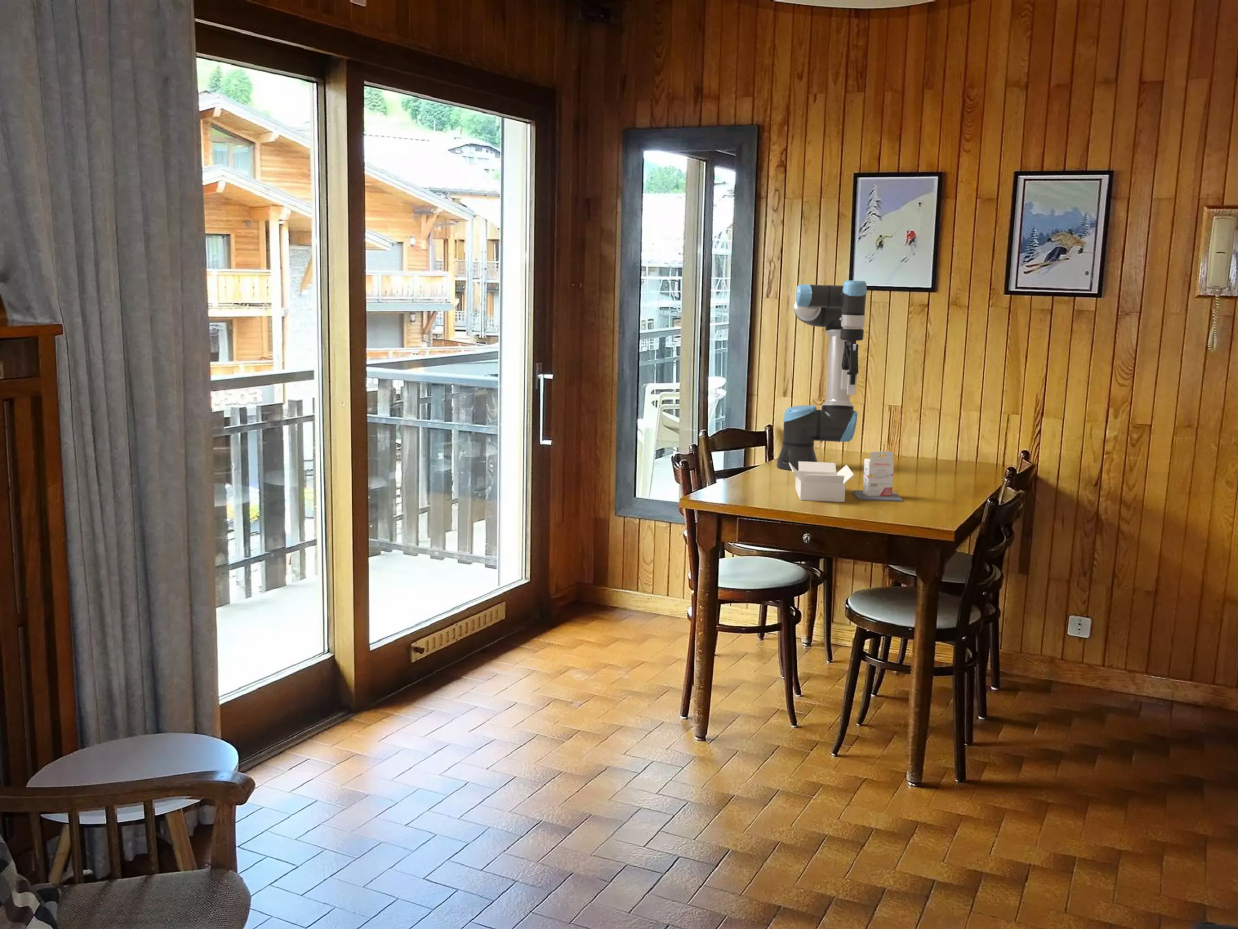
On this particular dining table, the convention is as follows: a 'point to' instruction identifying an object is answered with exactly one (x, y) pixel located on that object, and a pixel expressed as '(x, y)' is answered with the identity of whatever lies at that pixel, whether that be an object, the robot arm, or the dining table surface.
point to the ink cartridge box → (878, 474)
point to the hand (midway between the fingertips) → (848, 391)
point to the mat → (862, 496)
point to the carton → (821, 481)
